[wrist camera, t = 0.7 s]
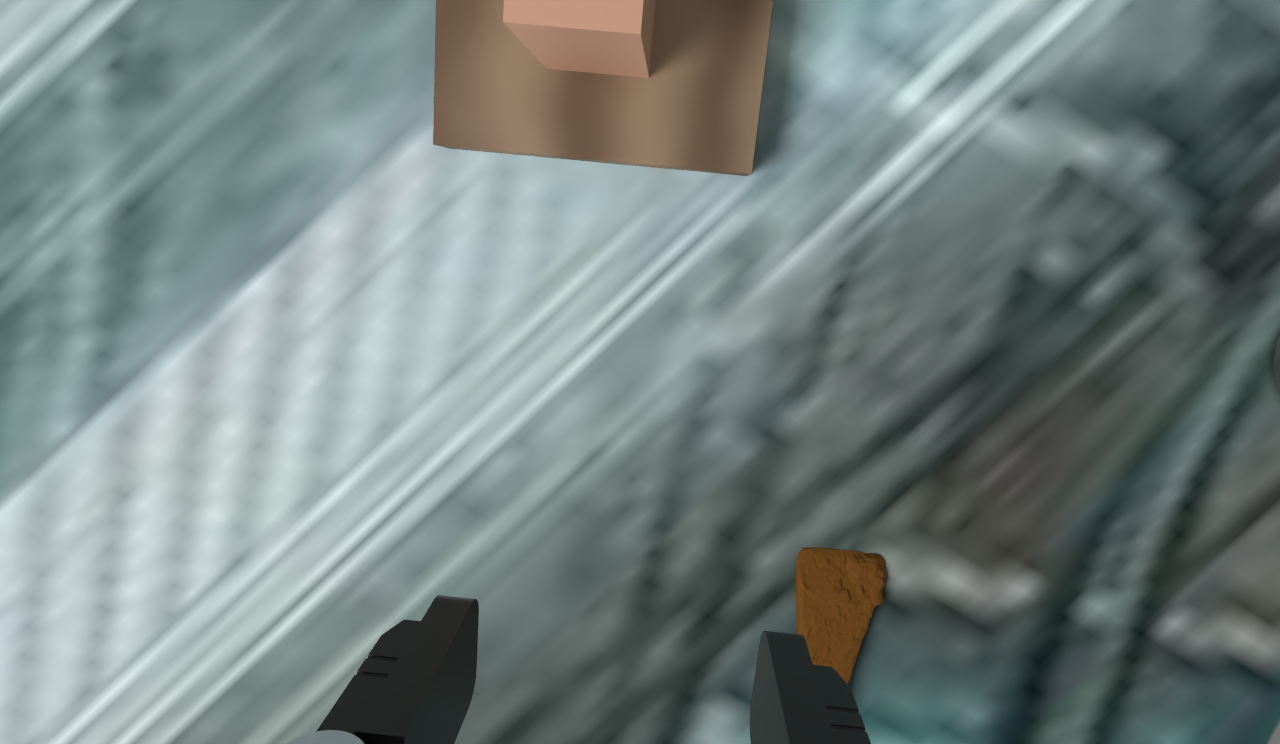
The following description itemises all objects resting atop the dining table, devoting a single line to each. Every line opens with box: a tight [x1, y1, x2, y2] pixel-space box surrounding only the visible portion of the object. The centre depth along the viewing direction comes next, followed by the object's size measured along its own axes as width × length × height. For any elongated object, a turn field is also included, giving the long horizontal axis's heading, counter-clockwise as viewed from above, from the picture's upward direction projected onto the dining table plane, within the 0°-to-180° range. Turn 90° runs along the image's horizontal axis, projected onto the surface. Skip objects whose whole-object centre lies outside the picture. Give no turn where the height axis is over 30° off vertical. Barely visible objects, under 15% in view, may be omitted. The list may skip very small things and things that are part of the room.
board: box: [433, 0, 773, 176], centre depth 35 cm, size 16×12×2 cm
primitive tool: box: [796, 548, 887, 685], centre depth 43 cm, size 19×6×4 cm, turn 176°
